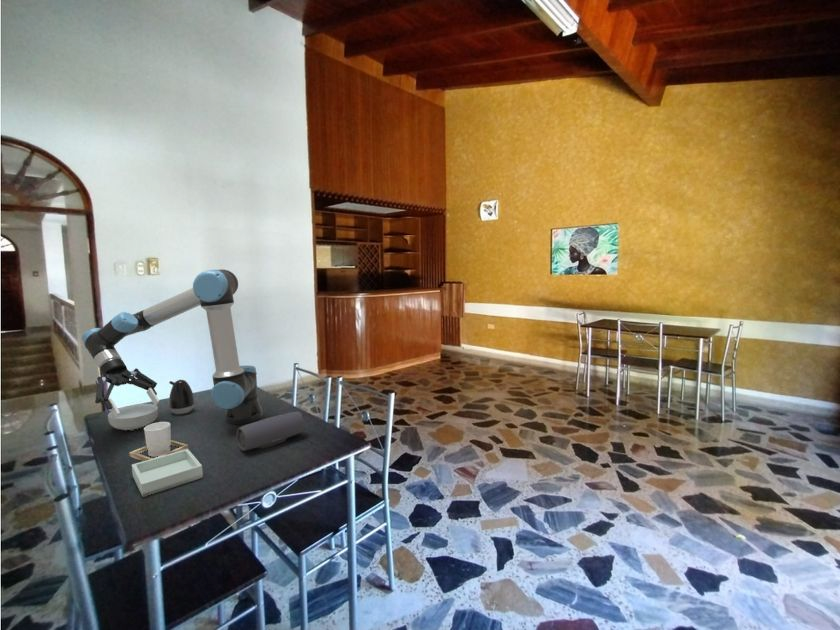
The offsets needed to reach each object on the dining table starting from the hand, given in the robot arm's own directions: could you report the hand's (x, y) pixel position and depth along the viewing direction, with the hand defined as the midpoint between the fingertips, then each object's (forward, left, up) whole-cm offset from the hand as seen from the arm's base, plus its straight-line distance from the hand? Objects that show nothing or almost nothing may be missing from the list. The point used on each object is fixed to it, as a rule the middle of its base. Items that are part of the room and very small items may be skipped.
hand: (138, 409), depth 149 cm
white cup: (-7, +7, -15) cm, 18 cm away
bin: (-14, +27, -14) cm, 34 cm away
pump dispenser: (-6, -35, -15) cm, 38 cm away
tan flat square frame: (-7, +7, -14) cm, 18 cm away
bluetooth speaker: (-45, +12, -15) cm, 49 cm away
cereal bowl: (+9, -23, -15) cm, 28 cm away
